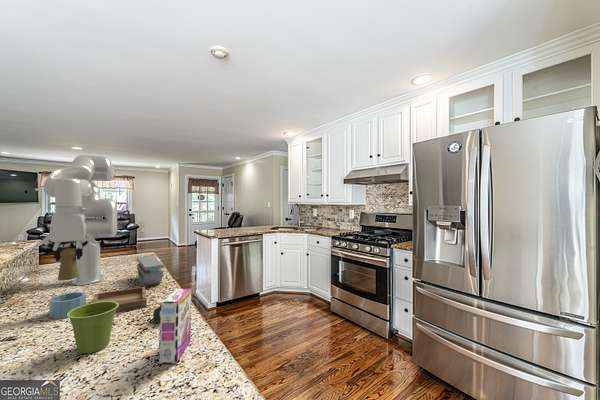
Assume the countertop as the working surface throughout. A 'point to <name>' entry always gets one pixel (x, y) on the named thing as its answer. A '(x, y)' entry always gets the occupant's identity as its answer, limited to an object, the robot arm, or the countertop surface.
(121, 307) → the tray
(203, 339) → the countertop surface
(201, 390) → the countertop surface
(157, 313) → the smart speaker
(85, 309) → the plant pot
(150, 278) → the grey lidded box
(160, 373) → the countertop surface
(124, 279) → the countertop surface
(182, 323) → the candy bar box
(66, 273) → the olive brown bulbous cylinder
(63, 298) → the blue hollow cylinder
